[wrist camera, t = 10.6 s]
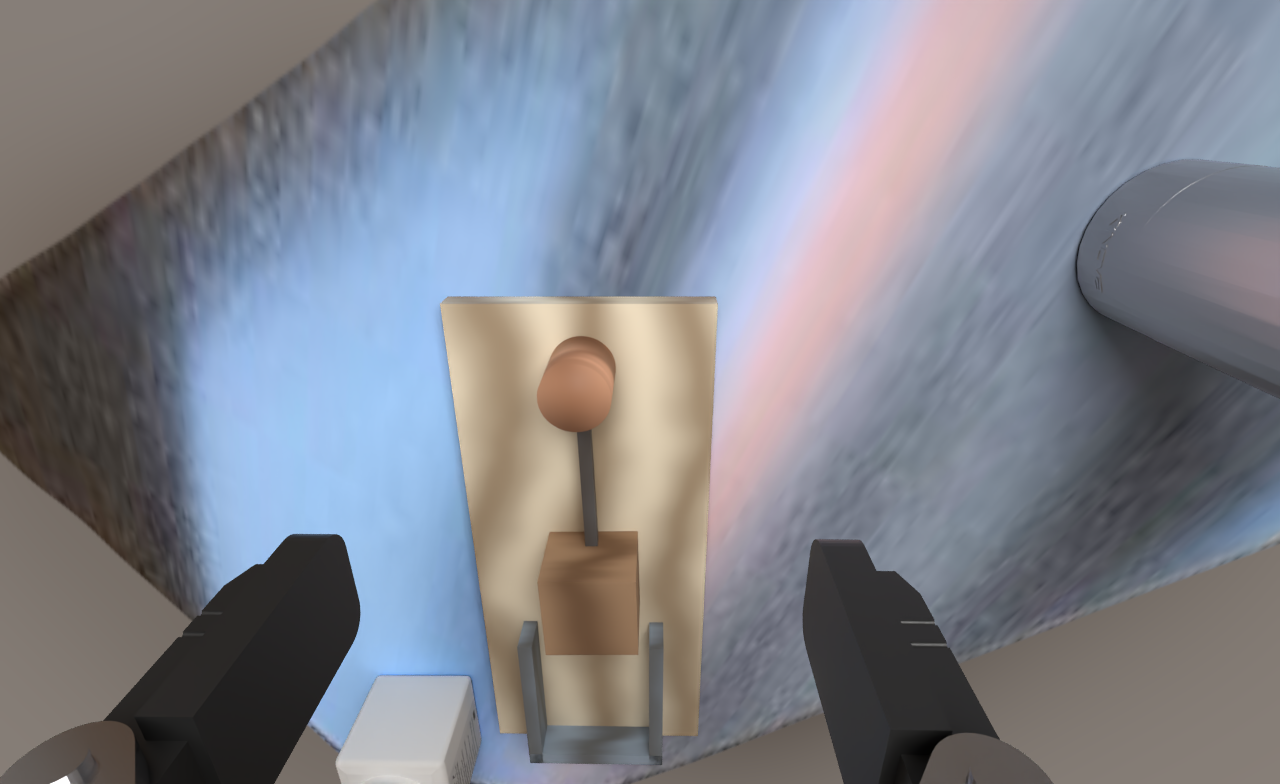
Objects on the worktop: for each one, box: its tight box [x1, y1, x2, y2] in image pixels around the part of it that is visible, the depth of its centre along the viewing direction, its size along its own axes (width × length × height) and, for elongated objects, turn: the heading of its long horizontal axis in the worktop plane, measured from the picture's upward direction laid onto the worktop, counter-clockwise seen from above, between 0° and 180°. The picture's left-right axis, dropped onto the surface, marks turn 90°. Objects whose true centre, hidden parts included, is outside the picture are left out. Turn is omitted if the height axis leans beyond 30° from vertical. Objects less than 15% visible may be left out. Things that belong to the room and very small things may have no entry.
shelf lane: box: [440, 297, 718, 765], centre depth 43 cm, size 16×36×4 cm, turn 0°
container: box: [335, 675, 481, 784], centre depth 47 cm, size 8×8×13 cm
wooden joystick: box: [537, 336, 640, 655], centre depth 39 cm, size 6×20×5 cm, turn 1°
